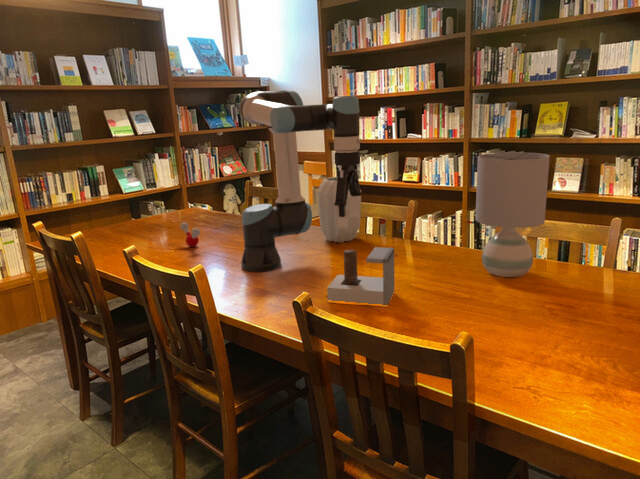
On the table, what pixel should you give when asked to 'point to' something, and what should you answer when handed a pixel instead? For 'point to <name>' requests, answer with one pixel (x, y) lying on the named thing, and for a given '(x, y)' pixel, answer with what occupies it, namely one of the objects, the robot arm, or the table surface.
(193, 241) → the molecular model
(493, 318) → the table surface
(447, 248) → the table surface
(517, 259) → the lamp
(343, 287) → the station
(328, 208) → the vase
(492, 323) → the table surface
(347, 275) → the dowel
